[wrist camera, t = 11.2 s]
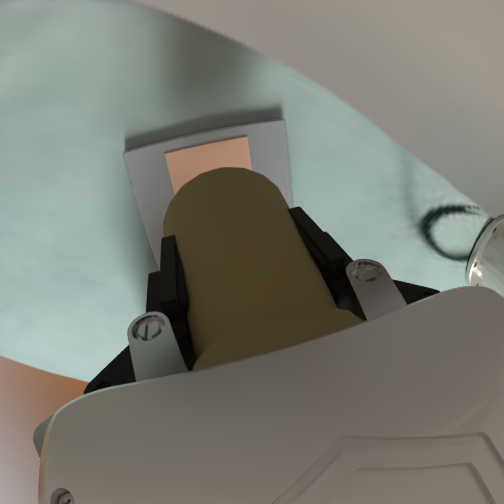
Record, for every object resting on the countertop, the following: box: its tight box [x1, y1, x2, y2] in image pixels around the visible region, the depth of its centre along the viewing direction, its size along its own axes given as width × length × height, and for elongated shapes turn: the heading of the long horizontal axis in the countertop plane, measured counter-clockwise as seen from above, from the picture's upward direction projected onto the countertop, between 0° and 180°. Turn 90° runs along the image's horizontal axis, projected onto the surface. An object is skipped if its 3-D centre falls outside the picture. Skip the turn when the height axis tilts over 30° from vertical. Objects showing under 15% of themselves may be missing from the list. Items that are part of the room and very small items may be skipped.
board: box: [123, 119, 293, 271], centre depth 22 cm, size 11×14×1 cm
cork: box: [163, 167, 364, 371], centre depth 9 cm, size 6×6×11 cm
